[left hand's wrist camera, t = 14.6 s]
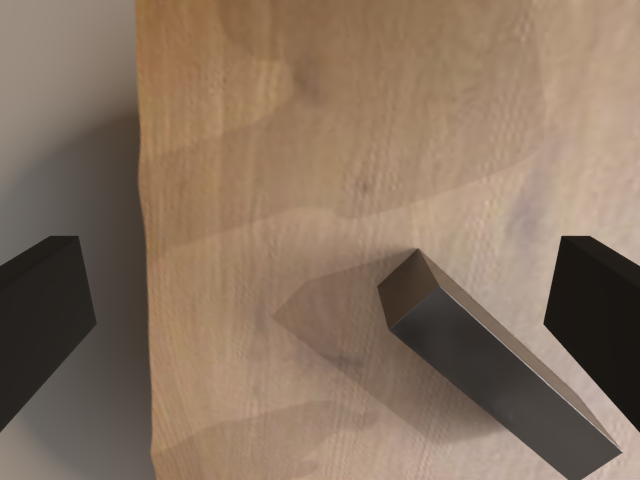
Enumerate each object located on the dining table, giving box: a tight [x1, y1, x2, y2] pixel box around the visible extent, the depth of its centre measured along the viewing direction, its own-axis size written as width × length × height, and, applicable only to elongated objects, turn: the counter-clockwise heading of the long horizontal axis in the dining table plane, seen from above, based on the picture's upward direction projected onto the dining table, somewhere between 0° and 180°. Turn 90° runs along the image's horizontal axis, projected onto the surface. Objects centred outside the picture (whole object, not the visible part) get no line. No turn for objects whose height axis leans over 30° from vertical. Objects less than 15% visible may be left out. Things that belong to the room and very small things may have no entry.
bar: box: [377, 249, 623, 480], centre depth 43 cm, size 26×6×8 cm, turn 47°
